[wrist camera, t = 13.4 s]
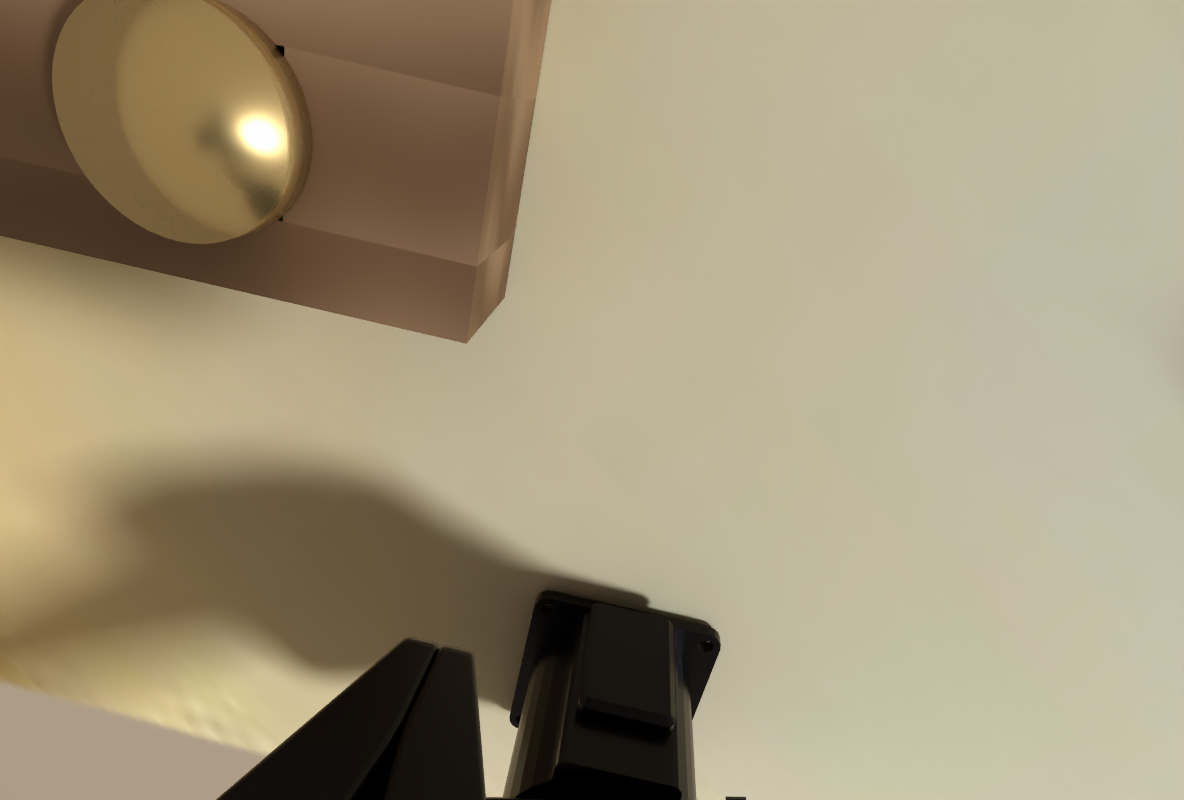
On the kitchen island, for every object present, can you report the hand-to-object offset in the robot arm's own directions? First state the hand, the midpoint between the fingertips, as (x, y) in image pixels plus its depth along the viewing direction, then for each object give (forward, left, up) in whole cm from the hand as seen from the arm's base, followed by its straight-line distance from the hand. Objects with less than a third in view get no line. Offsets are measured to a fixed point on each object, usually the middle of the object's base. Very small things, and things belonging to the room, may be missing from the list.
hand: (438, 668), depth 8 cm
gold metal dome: (+4, +8, -12) cm, 15 cm away
